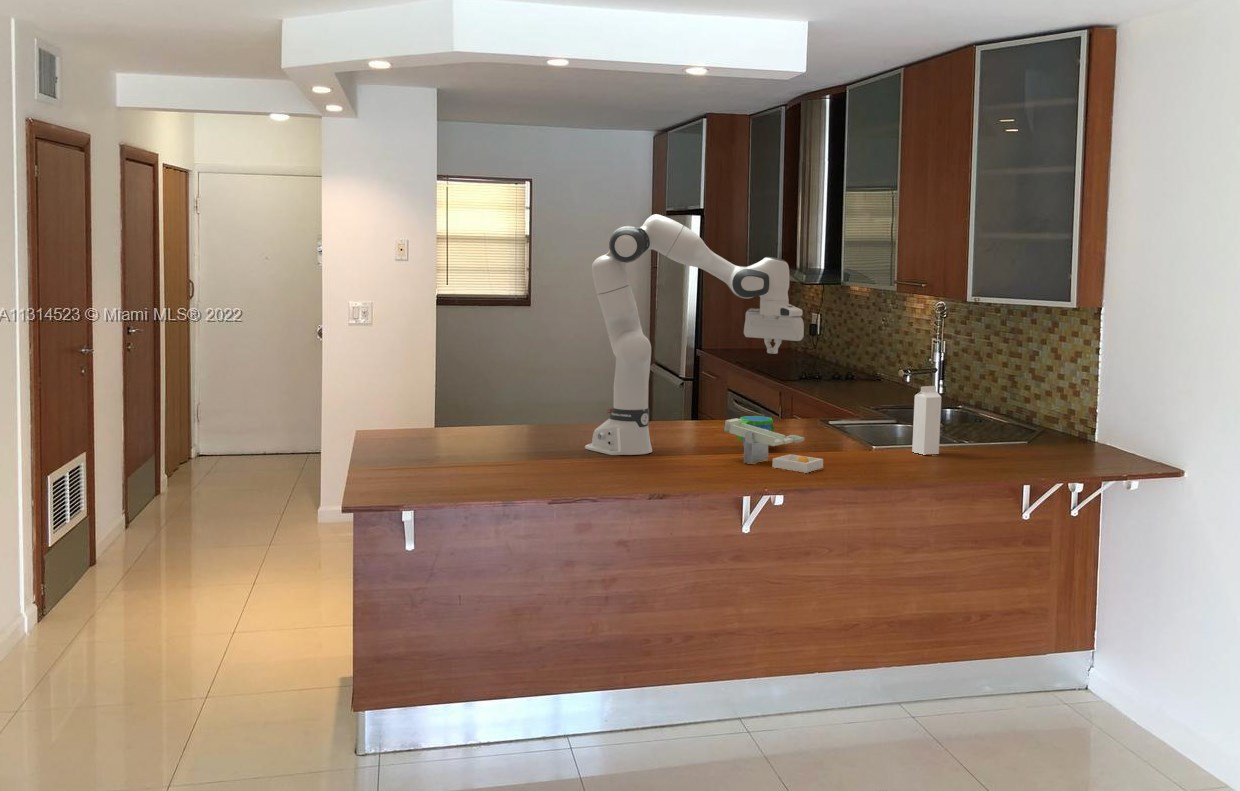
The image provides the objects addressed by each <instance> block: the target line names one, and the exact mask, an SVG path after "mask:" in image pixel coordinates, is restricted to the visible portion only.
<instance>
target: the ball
mask: <svg viewBox="0 0 1240 791" xmlns="http://www.w3.org/2000/svg"><path fill="white" fill-rule="evenodd" d="M800 456H801V457H799V458H798V459H797V462H803V463H807V462H809V460H808V458H807V457H808V456H804V455H800Z"/></svg>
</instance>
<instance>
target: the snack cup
mask: <svg viewBox="0 0 1240 791" xmlns="http://www.w3.org/2000/svg"><path fill="white" fill-rule="evenodd" d="M739 419H741V420H742V421H741V423H745V424H748V425H751V426H755V427H758V428H762V429H768V431H772V432H775V427H774V421H773V418H772V417H768V416H760V415H746V416H741V417H739ZM736 439H737V440H738V441H741V442H742V443H743V445H744V442H745V437H741V436H738V435H736Z"/></svg>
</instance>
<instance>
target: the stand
mask: <svg viewBox="0 0 1240 791" xmlns="http://www.w3.org/2000/svg"><path fill="white" fill-rule="evenodd" d="M765 430H768V429H765ZM767 459H768V460H769V445H768V444H764V443H761V442H758V441H754V433H752V432H745V442H744V444H743V464H744V463H750V464H753V463H756V462H760V461H763V460H767Z"/></svg>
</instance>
